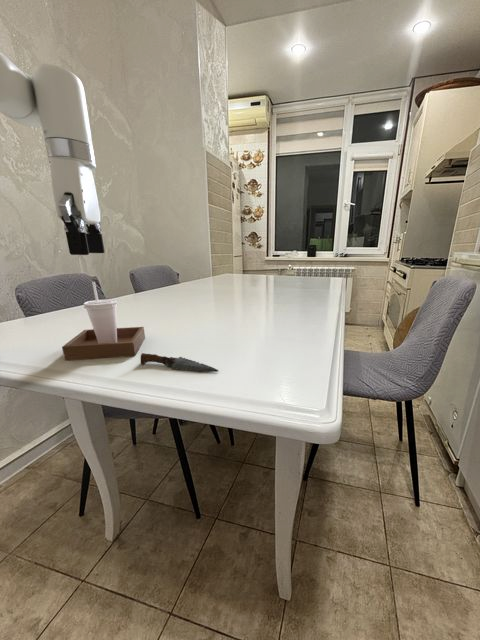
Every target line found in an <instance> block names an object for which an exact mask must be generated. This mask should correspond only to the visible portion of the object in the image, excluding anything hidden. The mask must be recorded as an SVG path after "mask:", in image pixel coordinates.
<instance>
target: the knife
mask: <svg viewBox="0 0 480 640" xmlns="http://www.w3.org/2000/svg"><path fill="white" fill-rule="evenodd" d="M146 363H158V364H163V365H164V366H166V367H170V368H171V370H178V371H181V370H182V371H195V372H201V373H211V372H214V373H218V372H219V369H216V368H215V367H213V366H210V365H207V364H205V363H200V362H199V361H196V360H192V359H189V358H186V357H182V356H179V357H174V356H173V357H172V356H170V357H168V356H161V355H158V354H156V353H154V354H152V353H145V352H141V354H140V365H143V364H146Z"/></svg>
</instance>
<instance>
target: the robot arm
mask: <svg viewBox="0 0 480 640" xmlns="http://www.w3.org/2000/svg"><path fill="white" fill-rule="evenodd" d="M0 113H1V114H3V115H4V116H6V117H8V118H9V119H10V120H12V121H14V122H16V123H17V124H19V125H22V126H26V127H40V126H41V131H42V135H43V140H44V145H45V149H46V154H47V159H48V160H47V161H48V164H50V165H49V166H50V178H51V187H52V193H53V200H54V206H55V212H56V216H57V218H58V219H59V220H60V221H62V223H63V230H64V231H65V235H66V236H65V237H66V241H67V246H68V251H69V254H70V255H72V256H89V255H90V254H105V252H106V251H105V245H104V239H103V234H102V233H103V232H102V228H101V211H100V204H99V199H98V194H97V188H96V184H95V178H94V174H93V171H94V170H96V169H97V164H96V158H95V152H94V146H93V138H92V132H91V125H90V119H89V111H88V106H87V98H86V93H85V88H84V85H83V83H82V81H81V79H80V78H79V77H78V76H77V75H76V74H75V73H74V72H73V71H70V70H69V69H66V68H65V67H61V66H59V65H55V64H51V63H40V64H39V63H38V64H37V65H35V66H33V68H32V70H31V74H28V73H26V72H25V71H23V70H21V69H20V68H19V67H18V66H17V65H16V64H14V62H13V61H12V60H10V59H9V58H8V57H7V56H6V55H4V53H2V52H1V51H0ZM84 230H85V231H84Z"/></svg>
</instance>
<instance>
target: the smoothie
mask: <svg viewBox="0 0 480 640" xmlns="http://www.w3.org/2000/svg"><path fill="white" fill-rule="evenodd" d="M91 284H92V289H93V294H94V299H93V300H88V301H85V302H84V303H83V308H84V309H86V312H87V315H88V318H89V320H90V323H91V326H92V329H94V332H95V335H96V337H97V340H98V343H99V344H100V343H117V328H118V327H117V325H118V324H117V306H118V304H117V300H115V299H109V298H108V299H105V298H104V299H99V296H98V295H99V294H98V290H97V285H96V281H91Z"/></svg>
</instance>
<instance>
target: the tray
mask: <svg viewBox="0 0 480 640" xmlns="http://www.w3.org/2000/svg"><path fill="white" fill-rule="evenodd" d="M145 339H146V335H145V327H144V326H132V327H129V326H128V327H117V343H100V344H99V343H98V340H97V337H96V335H95V332H94V329H93V328H90V329H84V330H82V331H81V332H79V333H78V334H77V335H75V336H74V337H73V338H71V339H70V340H69V341H68V342H67V343H65V344H63V346H61V349H62V353H63V357H64V360H65V361H76V360H77V361H78V360H79V361H80V360H93V359H107V358H121V357H122V358H123V357H136V355H137V353H138V352H139V350H140V348H141V346H142V345H143V343H144V341H145Z"/></svg>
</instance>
